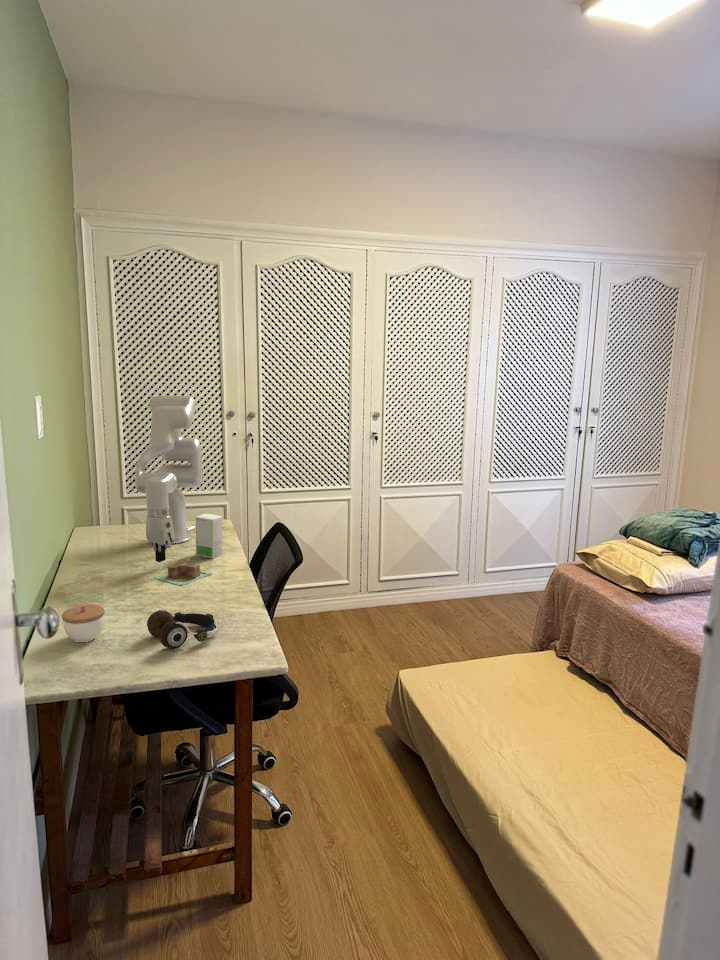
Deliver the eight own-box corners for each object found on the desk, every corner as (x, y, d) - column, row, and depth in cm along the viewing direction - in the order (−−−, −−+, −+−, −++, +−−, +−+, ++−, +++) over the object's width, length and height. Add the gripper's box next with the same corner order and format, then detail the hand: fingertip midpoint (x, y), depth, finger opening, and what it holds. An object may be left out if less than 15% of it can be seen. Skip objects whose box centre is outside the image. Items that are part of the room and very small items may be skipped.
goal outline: (183, 566, 237) (183, 566, 237) (211, 574, 229) (211, 573, 229) (153, 577, 225) (153, 577, 225) (181, 586, 218) (181, 585, 218)
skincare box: (195, 556, 249) (194, 516, 245) (205, 551, 255) (204, 512, 251) (213, 559, 246) (212, 519, 242) (223, 554, 252) (222, 515, 248)
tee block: (168, 577, 225) (167, 567, 224) (183, 569, 234) (182, 559, 233) (190, 581, 222) (190, 570, 222) (204, 572, 231) (204, 562, 230)
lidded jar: (114, 632, 183) (111, 600, 181) (90, 649, 172) (87, 616, 171) (80, 627, 185) (78, 596, 183) (55, 644, 175) (52, 611, 173)
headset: (142, 606, 181) (207, 600, 194) (139, 632, 182) (204, 624, 195) (167, 627, 168) (235, 618, 181) (164, 655, 169) (232, 645, 182)
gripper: (181, 513, 228) (183, 562, 233) (152, 506, 236) (154, 553, 240) (164, 518, 222) (166, 568, 226) (135, 510, 230) (138, 559, 234)
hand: (160, 560), depth 233 cm, fingers closed
